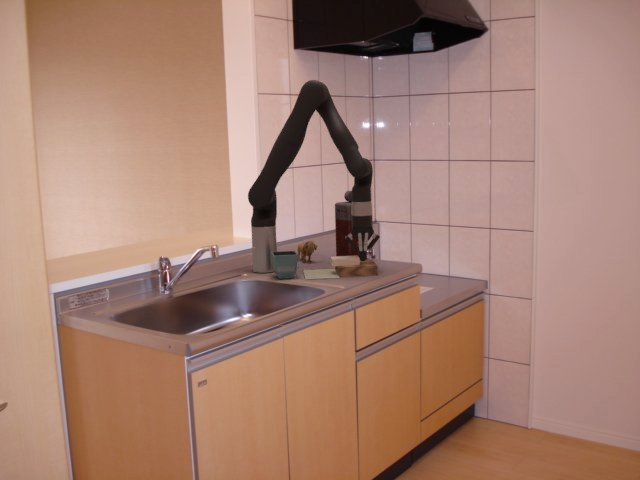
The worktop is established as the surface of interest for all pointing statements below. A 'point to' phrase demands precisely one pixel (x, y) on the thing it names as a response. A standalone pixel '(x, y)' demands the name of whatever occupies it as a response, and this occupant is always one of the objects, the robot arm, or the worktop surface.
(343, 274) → the brown wooden block
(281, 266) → the flower pot
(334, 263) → the beige flat block
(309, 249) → the lion figurine
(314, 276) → the mat
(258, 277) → the worktop surface
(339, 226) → the red drink dispenser
